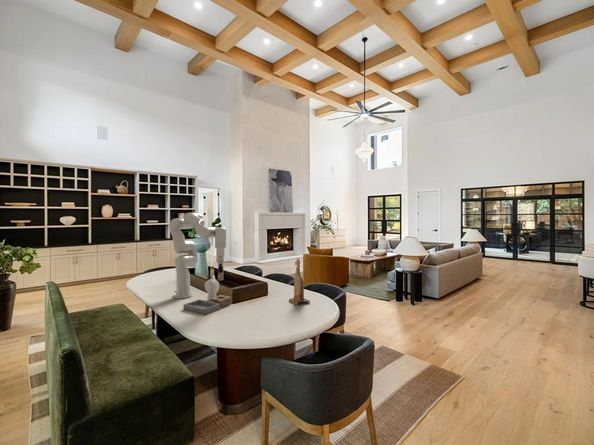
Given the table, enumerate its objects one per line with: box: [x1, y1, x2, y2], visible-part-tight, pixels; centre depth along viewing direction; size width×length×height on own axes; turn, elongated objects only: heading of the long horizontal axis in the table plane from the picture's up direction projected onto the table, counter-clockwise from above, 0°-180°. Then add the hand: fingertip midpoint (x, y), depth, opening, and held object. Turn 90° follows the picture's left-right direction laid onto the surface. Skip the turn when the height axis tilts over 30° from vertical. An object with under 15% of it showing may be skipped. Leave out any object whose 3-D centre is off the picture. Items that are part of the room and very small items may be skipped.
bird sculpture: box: [288, 257, 311, 307], centre depth 206 cm, size 11×12×32 cm
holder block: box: [210, 294, 233, 309], centre depth 201 cm, size 10×10×5 cm
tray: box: [183, 299, 221, 316], centre depth 192 cm, size 20×13×4 cm, turn 59°
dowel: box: [217, 261, 224, 282], centre depth 201 cm, size 4×4×14 cm
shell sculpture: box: [204, 274, 220, 302], centre depth 213 cm, size 8×8×18 cm
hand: (220, 271), depth 201 cm, fingers closed on dowel, 3 cm apart
